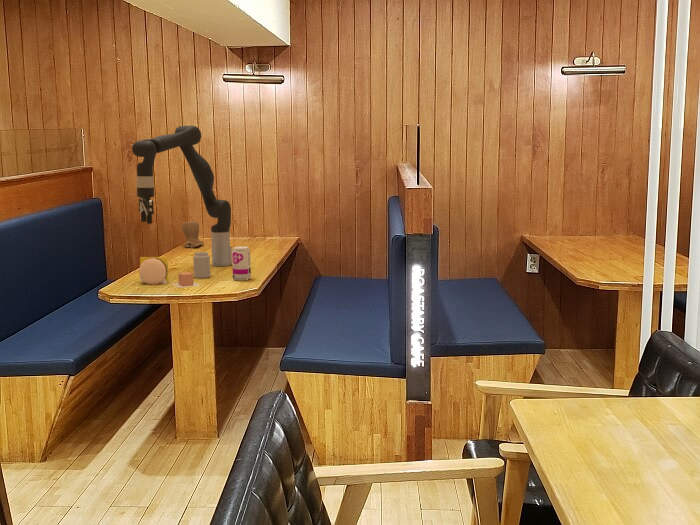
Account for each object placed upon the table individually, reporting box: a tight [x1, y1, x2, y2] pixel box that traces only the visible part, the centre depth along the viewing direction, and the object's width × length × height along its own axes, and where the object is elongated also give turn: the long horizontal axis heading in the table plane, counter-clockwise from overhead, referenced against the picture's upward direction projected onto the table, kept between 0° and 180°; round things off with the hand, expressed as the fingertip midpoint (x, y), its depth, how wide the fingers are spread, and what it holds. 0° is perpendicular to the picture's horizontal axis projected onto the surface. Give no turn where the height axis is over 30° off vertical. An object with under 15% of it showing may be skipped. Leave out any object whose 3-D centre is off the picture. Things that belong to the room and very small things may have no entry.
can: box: [192, 251, 211, 279], centre depth 365 cm, size 8×8×12 cm
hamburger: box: [138, 256, 169, 285], centre depth 351 cm, size 12×8×12 cm
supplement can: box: [232, 245, 252, 281], centre depth 361 cm, size 8×8×15 cm
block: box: [177, 271, 194, 286], centre depth 348 cm, size 5×5×5 cm
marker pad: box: [171, 281, 201, 289], centre depth 348 cm, size 10×10×1 cm
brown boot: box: [181, 220, 205, 249], centre depth 459 cm, size 15×12×15 cm
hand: (146, 222), depth 350 cm, fingers open, 8 cm apart
